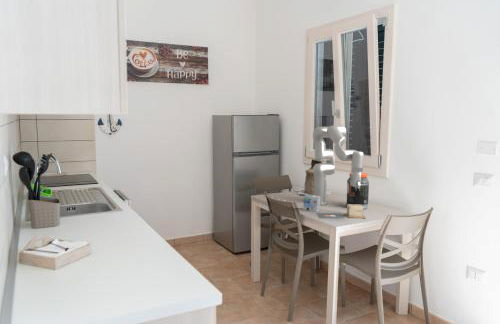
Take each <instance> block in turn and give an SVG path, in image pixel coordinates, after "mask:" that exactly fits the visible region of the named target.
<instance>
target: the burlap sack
mask: <svg viewBox="0 0 500 324" xmlns="http://www.w3.org/2000/svg"><path fill="white" fill-rule="evenodd" d="M318 163H323V161H316V159H315V158H313V157H311V162H310V165H311V167H309V168H308V169H305V181H304V189H303V190H300V191H297V194H298V195H301V196H302V195H303V196H305V195H307V194H308V195H314V172H313V167H314V165H316V164H318ZM324 177H325V178H326V175H324ZM331 193H332V191H331V190H326V197H327V196H329V195H331Z"/></svg>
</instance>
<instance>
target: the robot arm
mask: <svg viewBox="0 0 500 324" xmlns="http://www.w3.org/2000/svg"><path fill="white" fill-rule="evenodd" d="M346 135H347V128H346V127H345V126H343V125H329V126H317V127H315V128H314V130H313V132H312V139H313V143H314V159H316V161H322V163H318V164H316V165H314V167H313V172H314V195H316V196H320V206H325V205H328V204H329V203H328V201H327V196H326V191H327V179H326V176H332V175H334V174H335V173H336V157H337V158H338V160H340V161H342V162H349V161H350V162H351V167H350V173H351V179H350V184H351V193H355V196H360V186H361V173H363V168H364V158H365V156H364V155H365V154H364V152H363V151H358V150H356V149H343V148H342V146H344V145H345V143H346V141H347V139H346V137H345V136H346ZM325 138H329V139H331V141H332V142H333V144H334V148H333V149H331V148H327V147H326V145H327V144H326V142H325ZM324 175H325V177H324Z"/></svg>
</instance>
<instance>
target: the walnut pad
mask: <svg viewBox="0 0 500 324" xmlns="http://www.w3.org/2000/svg"><path fill="white" fill-rule="evenodd" d="M343 215H344V216H346V217H347V218H348V219H362V220H366V219H367V217H365V216H364V214H363V215H362V217H349V216H348V215H347V212H344V213H343Z"/></svg>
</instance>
